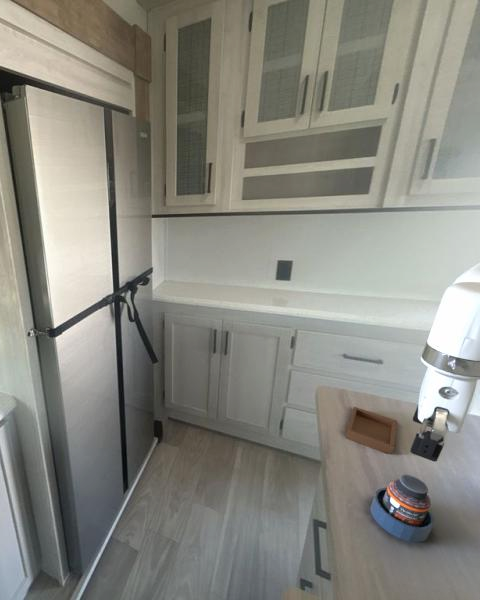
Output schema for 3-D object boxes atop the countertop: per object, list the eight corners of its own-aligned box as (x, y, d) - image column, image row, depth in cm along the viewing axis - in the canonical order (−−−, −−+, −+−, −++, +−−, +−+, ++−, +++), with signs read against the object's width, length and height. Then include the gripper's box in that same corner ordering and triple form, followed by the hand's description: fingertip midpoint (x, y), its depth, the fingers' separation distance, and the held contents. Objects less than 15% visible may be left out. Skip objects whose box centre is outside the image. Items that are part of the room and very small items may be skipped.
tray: (352, 413, 94) (353, 406, 93) (395, 427, 88) (397, 420, 87) (345, 437, 87) (347, 430, 86) (391, 455, 81) (394, 447, 80)
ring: (406, 506, 69) (413, 490, 68) (437, 549, 62) (446, 532, 60) (360, 502, 71) (365, 485, 69) (385, 542, 64) (392, 525, 62)
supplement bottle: (388, 535, 65) (403, 495, 60) (371, 506, 70) (384, 467, 66) (425, 540, 63) (444, 500, 59) (405, 511, 68) (421, 471, 64)
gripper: (499, 395, 45) (456, 484, 51) (486, 343, 56) (452, 421, 62) (421, 375, 50) (391, 458, 56) (424, 331, 61) (398, 405, 67)
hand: (423, 439), depth 59 cm, fingers open, 9 cm apart
